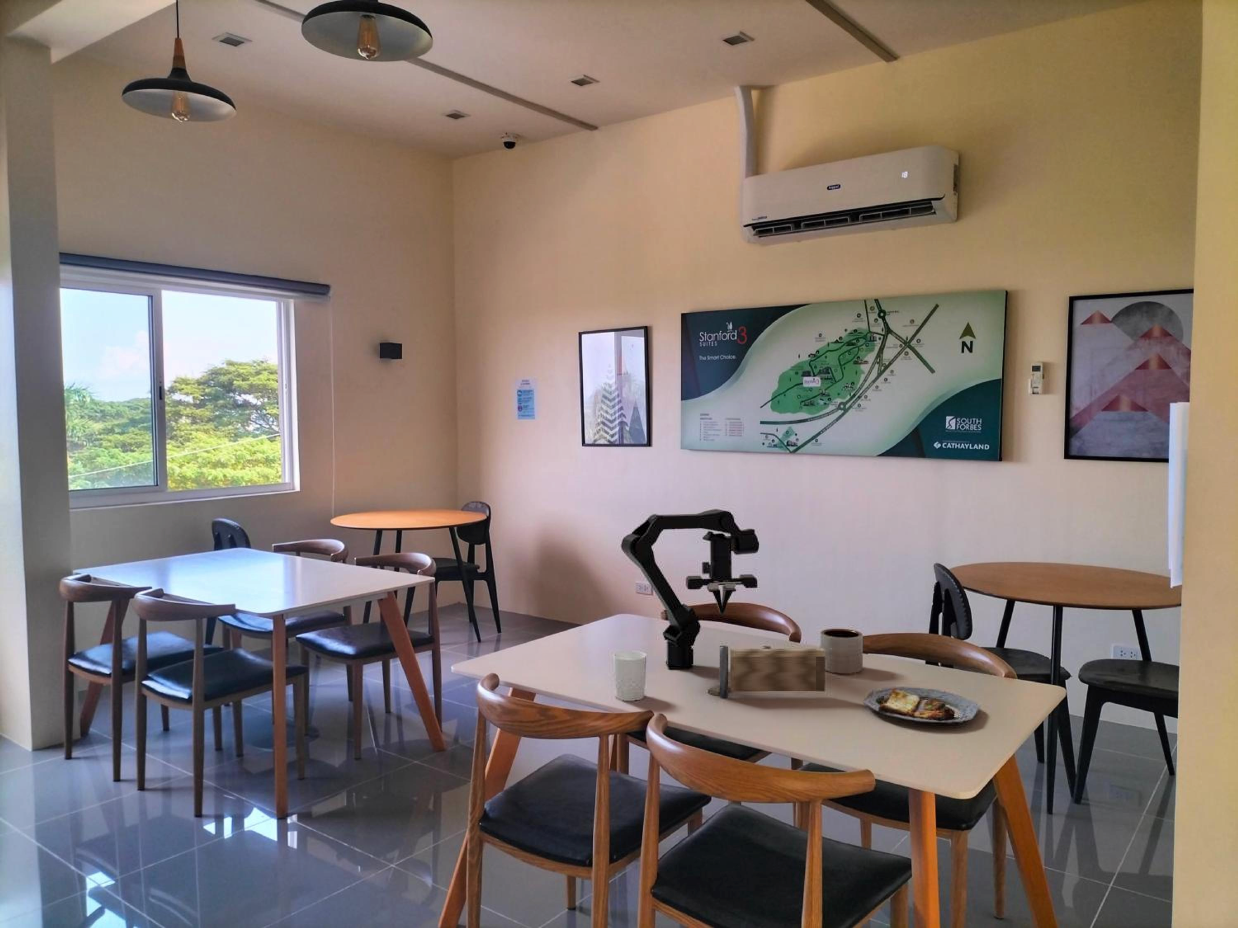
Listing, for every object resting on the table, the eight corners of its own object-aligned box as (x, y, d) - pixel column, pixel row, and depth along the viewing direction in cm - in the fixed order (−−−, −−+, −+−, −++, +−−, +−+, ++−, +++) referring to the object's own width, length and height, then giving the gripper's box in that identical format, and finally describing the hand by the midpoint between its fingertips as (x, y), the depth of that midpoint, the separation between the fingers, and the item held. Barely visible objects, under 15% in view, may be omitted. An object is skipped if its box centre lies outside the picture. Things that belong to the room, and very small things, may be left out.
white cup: (651, 694, 205) (651, 652, 204) (638, 704, 198) (638, 661, 197) (621, 690, 208) (621, 649, 208) (607, 699, 201) (607, 657, 201)
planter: (816, 672, 223) (817, 635, 222) (823, 661, 233) (823, 626, 232) (860, 677, 218) (860, 639, 218) (864, 665, 229) (865, 630, 228)
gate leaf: (731, 691, 202) (731, 650, 201) (730, 689, 203) (730, 648, 203) (824, 691, 202) (825, 650, 201) (823, 688, 204) (823, 648, 203)
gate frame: (725, 698, 201) (725, 648, 201) (705, 694, 205) (705, 644, 204) (782, 674, 220) (782, 628, 220) (763, 670, 224) (763, 625, 224)
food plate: (965, 738, 175) (965, 720, 175) (852, 718, 188) (852, 702, 188) (986, 707, 196) (986, 691, 196) (883, 691, 209) (883, 677, 209)
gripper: (749, 550, 240) (750, 606, 241) (683, 552, 240) (684, 607, 240) (757, 557, 229) (758, 615, 230) (687, 558, 229) (688, 616, 229)
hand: (721, 613), depth 233 cm, fingers closed
